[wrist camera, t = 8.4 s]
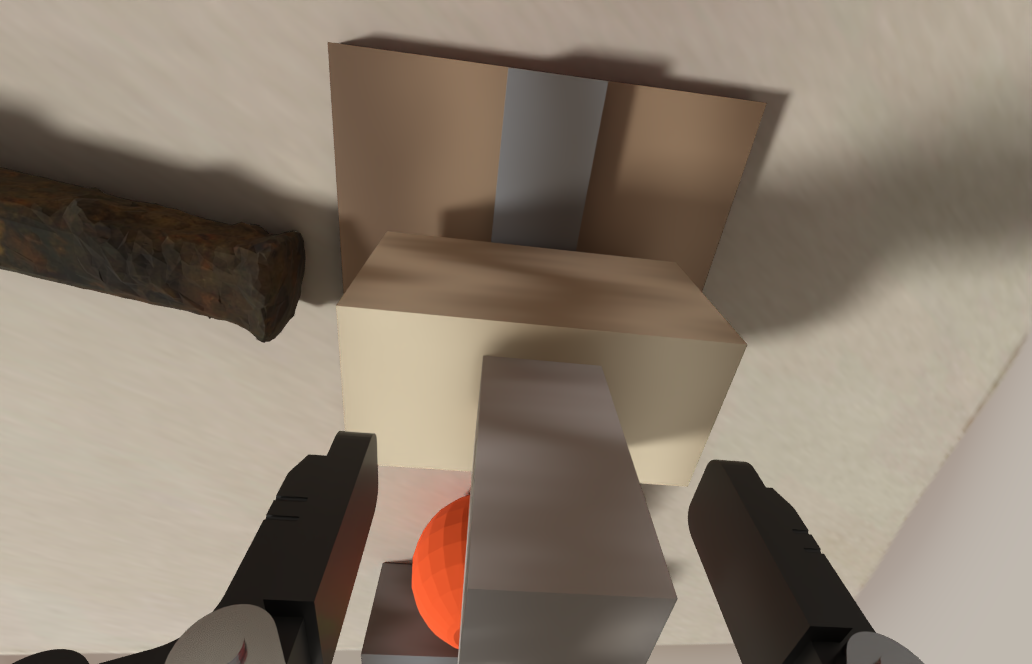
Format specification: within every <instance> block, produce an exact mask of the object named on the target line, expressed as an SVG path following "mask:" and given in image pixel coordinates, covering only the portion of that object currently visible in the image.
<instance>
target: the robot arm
mask: <svg viewBox="0 0 1032 664" xmlns="http://www.w3.org/2000/svg"><path fill="white" fill-rule="evenodd" d="M377 495H378V459H377V437H376V434H375V433H361V432H348V431H339V432H338V433H337V435H336V436H335V439H334V441H333V443H332V445H331V448H330V450H329V452H328V454H327V456H322V455H308V456H306V457H305V458H304V459H303V460H302V461H301V462H300V463H299V464H298V465H296V466H295V467H294V468H293V469H292V470H291V471H290V472H289V473H288V474H287V476H286V478H285V480H284V482H283V484H282V486H281V488H280V490H279V491H278V493H277V495H276V500H274V501H273V503H272V505H271V507H270V509H269V511H268V513H267V514H266V519H265V520H263V522H262V524H261V526H260V528H259V530H258V532H257V534H256V536H255V537H254V539H253V541H252V543H251V545H250V547H249V549H248V551H247V553H246V555H245V557H244V559H243V560H242V562H241V564H240V566H239V568H238V570H237V572H236V574H235V576H234V578H233V580H232V582H231V583H230V585H229V587H228V589H227V591H226V593H225V595H224V596H223V598H222V600H221V601H220V603H219V604H218V606H217V607H216V608H215V609H214V611H213V612H212V613H210V614H208V615H206V616H204V617H203V618H201V619H200V620H198V621H197V622H196V623H194V624H193V625H192V626H191V627H190V628H189V629H188V630H187V631H186V632H185V633H184V634H183V635H182V636H181V637H180V638H178V639H176V640H174V641H172V642H170V643H168V644H166V645H163V646H160V647H157V648H154V649H151V650H147V651H143V652H140V653H136V654H132V655H129V656H125V657H121V658H118V659H114V660H110V661H107V662H103V663H99V664H332V660H333V657H334V653H335V650H336V646H337V643H338V639H339V636H340V632H341V629H342V625H343V621H344V618H345V614H346V611H347V607H348V604H349V600H350V597H351V593H352V590H353V586H354V583H355V579H356V576H357V572H358V569H359V565H360V562H361V558H362V555H363V551H364V548H365V544H366V541H367V537H368V533H369V530H370V526H371V523H372V519H373V516H374V512H375V507H376V502H377ZM688 525H689V530H690V534H691V537H692V539H693V542H694V544H695V547H696V549H697V552H698V554H699V557H700V559H701V562H702V564H703V567H704V569H705V572H706V574H707V577H708V579H709V582H710V584H711V587H712V589H713V592H714V594H715V597H716V599H717V602H718V604H719V607H720V609H721V612H722V614H723V617H724V619H725V622H726V624H727V627H728V629H729V632H730V634H731V637H732V639H733V642H734V644H735V647H736V649H737V652H738V654H739V657H740V659H741V662H742V664H924V663H923V662H922V661H921V660H920V659H919V658H918V657H917V656H915V655H914V654H913V653H912V652H911V651H909V650H908V649H907V648H905V647H904V646H902V645H901V644H899V643H898V642H896V641H894V640H893V639H890V638H888V637H886V636H884V635H881V634H878V633H876V632H875V631H874V629H873V628H872V626H871V625H870V623H869V622H868V620H867V619H866V617H865V616H864V614H863V613H862V611H861V610H860V608H859V607H858V605H857V604H856V602H855V601H854V599H853V598H852V596H851V594H850V593H849V591H848V590H847V588H846V587H845V585H844V584H843V582H842V581H841V579H840V578H839V576H838V575H837V573H836V572H835V570H834V569H833V567H832V565H831V564H830V562H829V561H828V559H827V558H826V556H825V555H824V554H821V552H820V547H819V546H818V544H817V543H816V541H815V539H814V538H813V536H812V535H809V534H808V529H807V527H806V526H805V524H804V523H803V521H802V520H801V518H800V517H799V515H798V514H797V512H796V510H795V509H794V508H793V507H792V506H791V505H790V504H789V503H788V502H787V501H786V500H785V499H784V498H783V497H782V496H780V495H779V494H778V493H777V492H776V491H775V490H774V489H773V488H766V487H765V485H764V484H763V482H762V480H761V479H760V477H759V476H758V474H757V472H756V471H755V469H754V468H753V466H752V465H751V464H749V463H747V462H740V461H726V460H711V461H710V462H709V463H708V465H707V467H706V469H705V471H704V474H703V476H702V478H701V481H700V483H699V485H698V487H697V490H696V492H695V494H694V497H693V499H692V501H691V503H690V506H689V511H688ZM13 664H89V663H88V661H87V660H86V658H85V657H84V656H83V655H81V654H80V653H78V652H75V651H73V650H66V649H55V650H49V651H43V652H40V653H36V654H33V655H30V656H28V657H25V658H23V659H21V660H19V661H16V662H15V663H13Z"/></svg>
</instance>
